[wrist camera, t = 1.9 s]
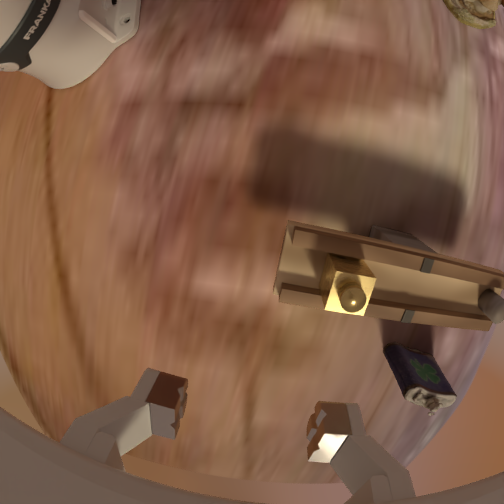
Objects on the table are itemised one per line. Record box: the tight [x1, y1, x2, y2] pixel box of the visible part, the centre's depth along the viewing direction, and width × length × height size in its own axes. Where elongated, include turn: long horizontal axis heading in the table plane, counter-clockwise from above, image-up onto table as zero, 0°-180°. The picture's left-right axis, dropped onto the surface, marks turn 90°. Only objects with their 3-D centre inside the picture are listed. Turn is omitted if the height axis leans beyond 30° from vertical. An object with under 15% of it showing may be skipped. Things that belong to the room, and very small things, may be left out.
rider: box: [318, 252, 377, 316], centre depth 22 cm, size 3×3×5 cm
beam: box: [273, 220, 504, 331], centre depth 26 cm, size 6×24×11 cm, turn 80°
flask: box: [383, 342, 457, 416], centre depth 30 cm, size 9×3×11 cm, turn 68°
